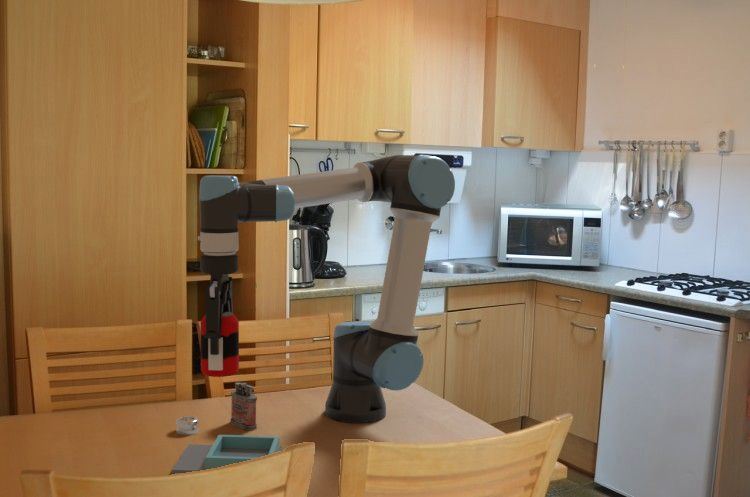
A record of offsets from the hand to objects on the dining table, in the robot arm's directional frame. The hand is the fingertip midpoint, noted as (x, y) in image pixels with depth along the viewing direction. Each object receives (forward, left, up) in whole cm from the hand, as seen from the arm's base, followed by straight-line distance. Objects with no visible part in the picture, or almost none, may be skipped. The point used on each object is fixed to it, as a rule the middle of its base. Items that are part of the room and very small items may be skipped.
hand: (220, 364), depth 161 cm
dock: (-2, +1, -21) cm, 21 cm away
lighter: (-1, -22, -21) cm, 31 cm away
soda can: (0, 0, -2) cm, 2 cm away
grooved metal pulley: (+11, -17, -21) cm, 29 cm away
